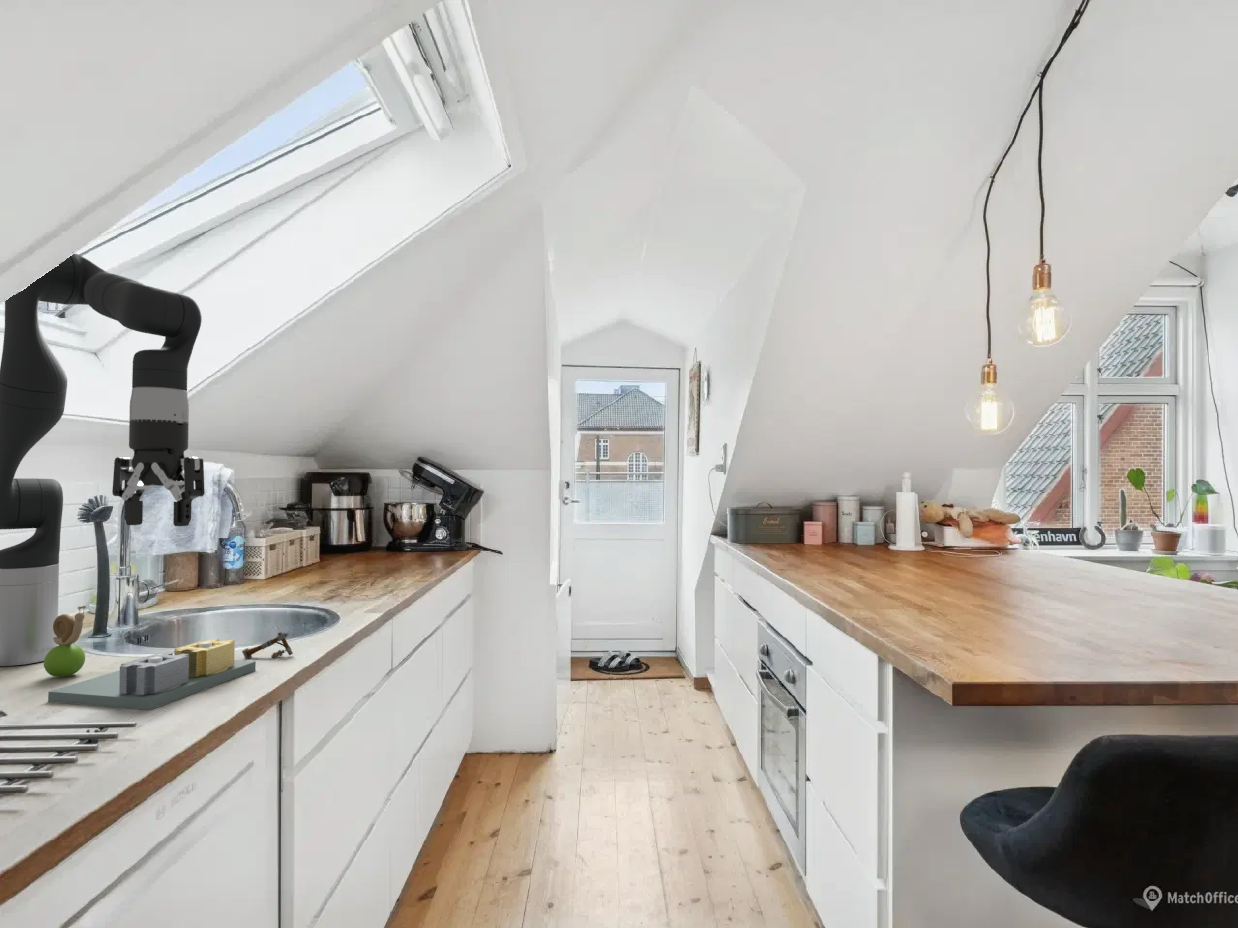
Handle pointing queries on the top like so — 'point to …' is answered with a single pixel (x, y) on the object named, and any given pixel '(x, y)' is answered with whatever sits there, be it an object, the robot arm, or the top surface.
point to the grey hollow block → (154, 674)
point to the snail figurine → (66, 646)
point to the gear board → (107, 694)
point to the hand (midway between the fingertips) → (157, 525)
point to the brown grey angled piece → (249, 652)
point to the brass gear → (208, 656)
